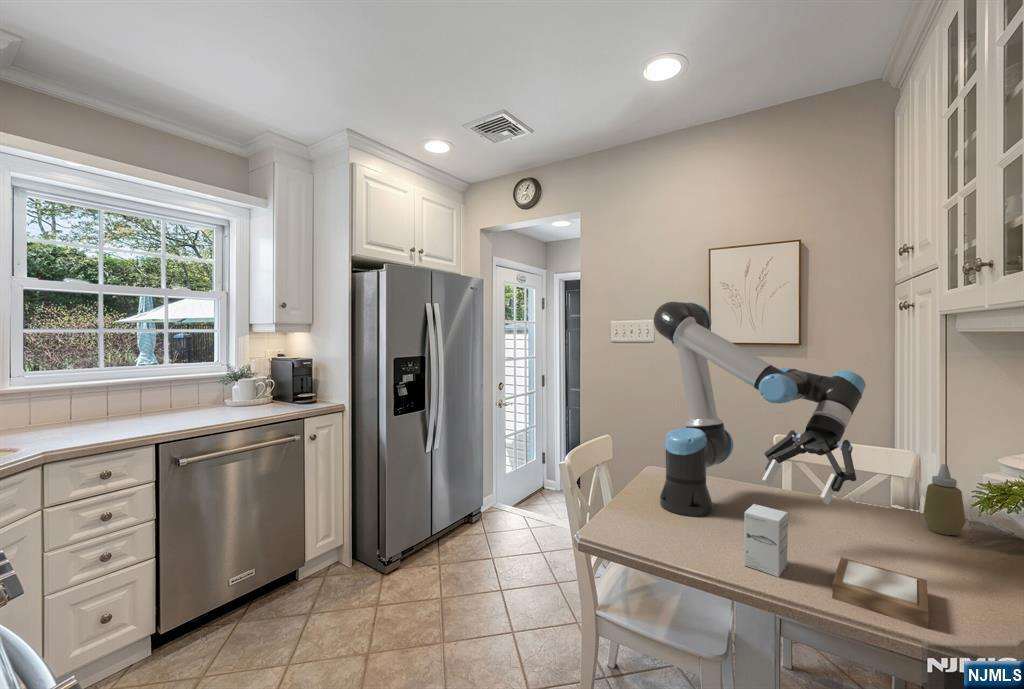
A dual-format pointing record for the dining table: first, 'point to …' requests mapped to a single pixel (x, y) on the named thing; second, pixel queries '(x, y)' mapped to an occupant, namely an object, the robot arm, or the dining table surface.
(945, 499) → the squeeze bottle
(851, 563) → the picture frame
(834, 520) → the dining table surface
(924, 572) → the dining table surface
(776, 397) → the robot arm
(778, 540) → the supplement box
